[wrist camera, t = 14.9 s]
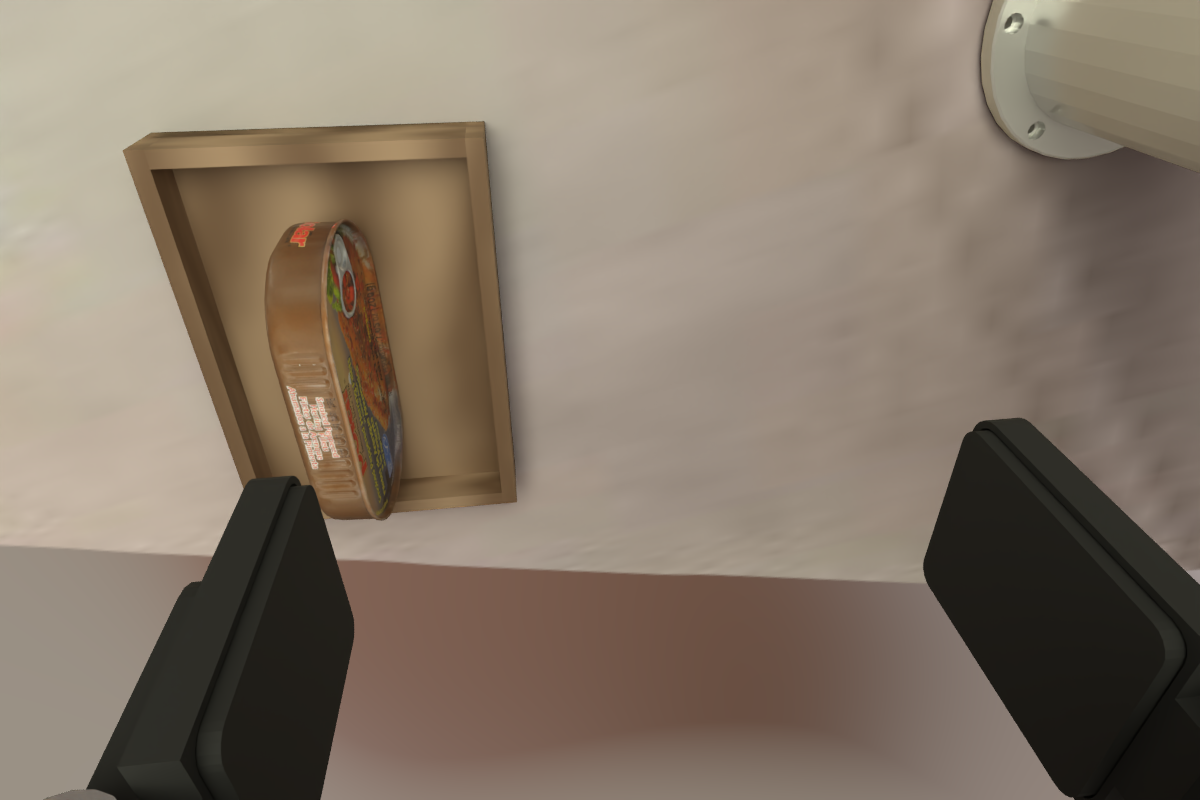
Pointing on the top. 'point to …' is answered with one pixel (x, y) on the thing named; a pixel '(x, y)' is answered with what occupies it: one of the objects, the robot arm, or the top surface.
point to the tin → (336, 367)
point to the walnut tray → (404, 273)
